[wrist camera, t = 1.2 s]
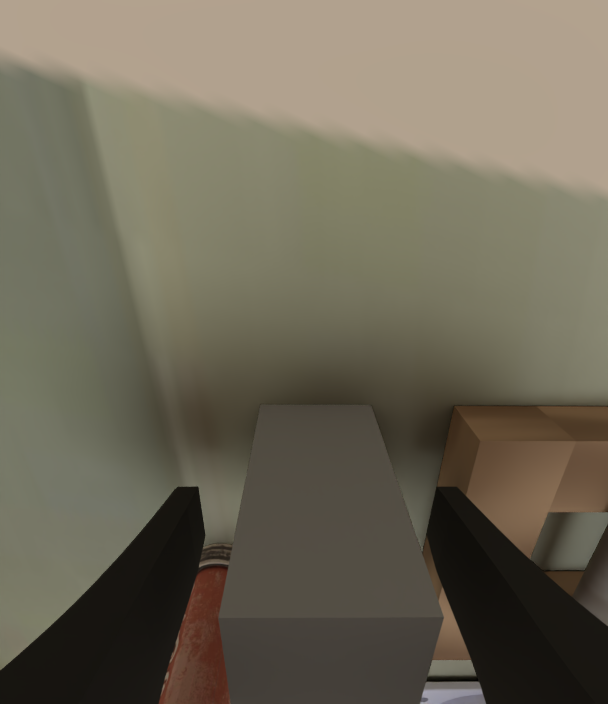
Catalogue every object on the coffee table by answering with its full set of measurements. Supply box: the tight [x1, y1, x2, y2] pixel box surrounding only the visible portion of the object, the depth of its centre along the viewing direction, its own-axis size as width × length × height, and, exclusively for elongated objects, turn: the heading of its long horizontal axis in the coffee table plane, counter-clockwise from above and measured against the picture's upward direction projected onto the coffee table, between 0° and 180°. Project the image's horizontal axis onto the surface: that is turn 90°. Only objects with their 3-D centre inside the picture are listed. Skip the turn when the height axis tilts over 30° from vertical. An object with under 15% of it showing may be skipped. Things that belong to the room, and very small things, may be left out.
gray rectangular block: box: [218, 404, 444, 704], centre depth 10 cm, size 4×4×7 cm
